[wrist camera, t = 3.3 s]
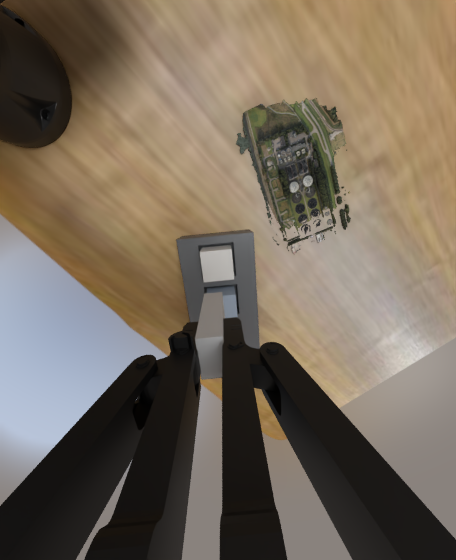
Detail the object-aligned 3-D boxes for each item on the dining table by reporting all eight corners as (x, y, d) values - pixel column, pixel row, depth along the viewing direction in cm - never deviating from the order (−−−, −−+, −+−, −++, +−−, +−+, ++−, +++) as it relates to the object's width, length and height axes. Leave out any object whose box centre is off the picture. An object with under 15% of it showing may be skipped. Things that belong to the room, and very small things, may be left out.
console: (198, 341, 44) (196, 357, 40) (182, 236, 37) (176, 239, 33) (255, 336, 44) (259, 351, 40) (249, 229, 37) (253, 232, 33)
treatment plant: (373, 214, 38) (388, 215, 34) (284, 266, 40) (290, 271, 37) (316, 63, 31) (328, 44, 27) (213, 137, 33) (212, 129, 30)
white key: (205, 274, 35) (203, 282, 32) (202, 247, 34) (199, 252, 30) (232, 272, 35) (234, 279, 32) (230, 244, 34) (231, 249, 30)
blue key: (210, 312, 37) (209, 323, 34) (207, 288, 36) (205, 297, 32) (236, 309, 37) (237, 321, 34) (234, 285, 36) (235, 294, 32)
